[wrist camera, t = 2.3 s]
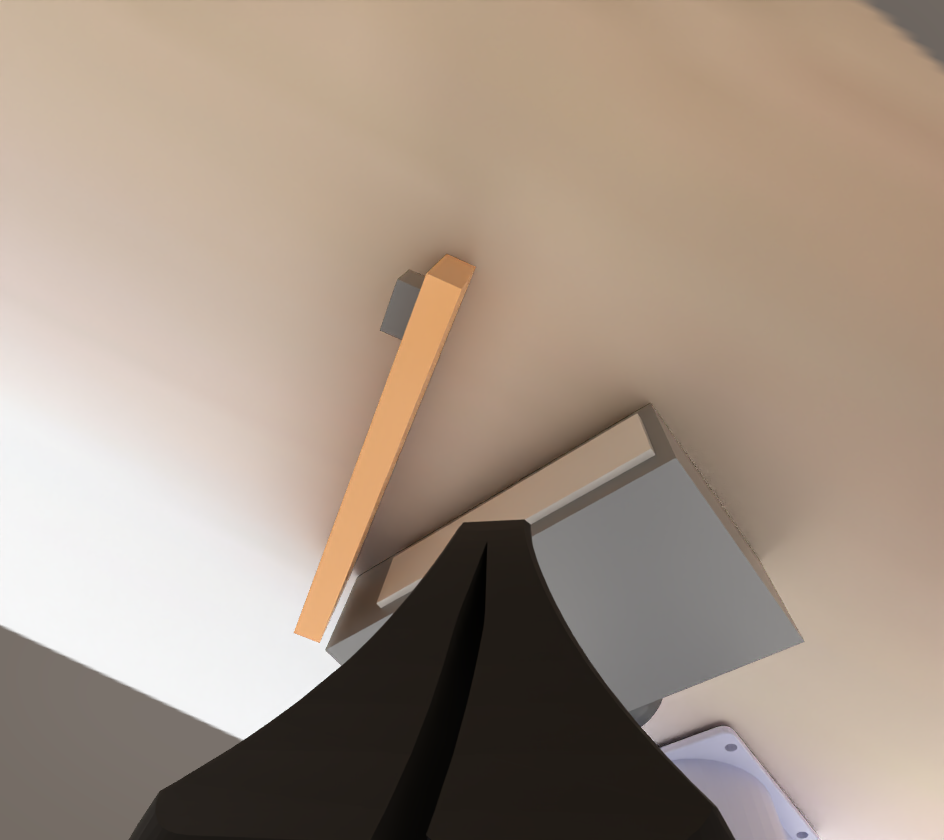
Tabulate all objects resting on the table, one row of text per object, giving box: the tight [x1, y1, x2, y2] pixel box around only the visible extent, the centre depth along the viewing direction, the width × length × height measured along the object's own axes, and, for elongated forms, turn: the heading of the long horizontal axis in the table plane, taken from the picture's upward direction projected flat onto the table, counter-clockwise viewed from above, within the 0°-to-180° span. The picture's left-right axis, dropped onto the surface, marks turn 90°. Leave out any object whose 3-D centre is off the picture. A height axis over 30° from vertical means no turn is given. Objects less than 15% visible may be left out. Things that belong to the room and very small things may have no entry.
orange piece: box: [294, 254, 475, 643], centre depth 19 cm, size 2×14×4 cm, turn 158°
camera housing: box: [326, 403, 804, 727], centre depth 21 cm, size 10×14×4 cm
